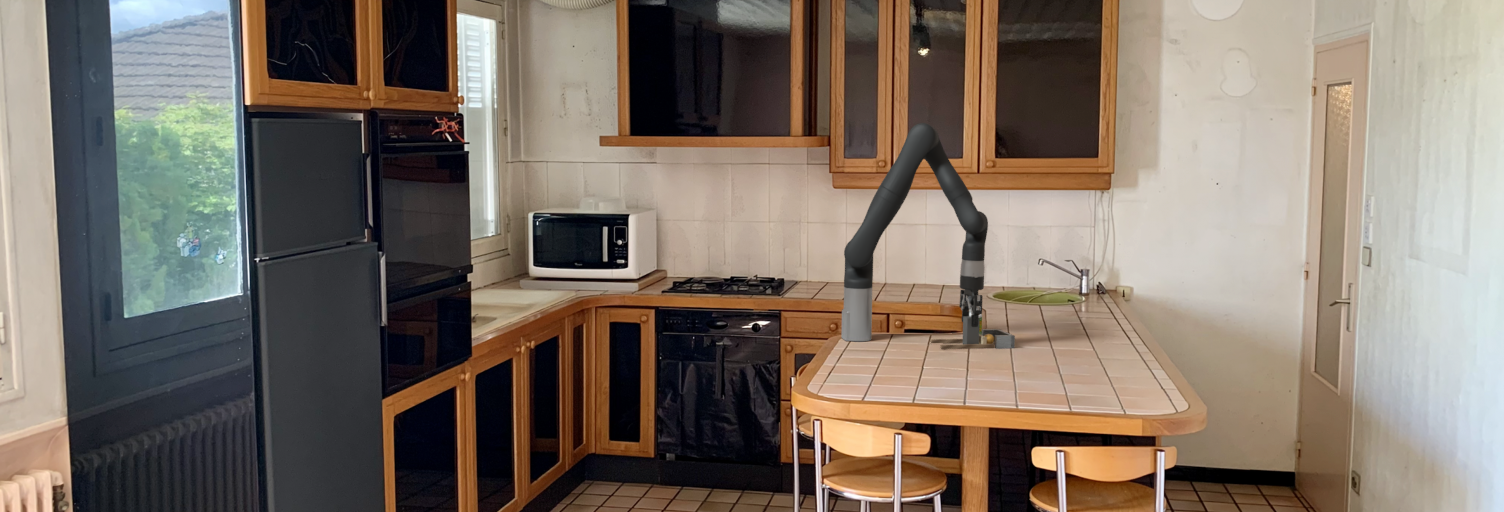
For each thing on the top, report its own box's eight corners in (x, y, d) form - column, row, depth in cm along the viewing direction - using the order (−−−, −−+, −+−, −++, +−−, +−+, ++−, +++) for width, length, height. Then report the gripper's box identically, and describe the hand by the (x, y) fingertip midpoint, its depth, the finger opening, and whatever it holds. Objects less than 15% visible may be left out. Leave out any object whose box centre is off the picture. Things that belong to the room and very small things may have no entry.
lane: (941, 349, 362) (941, 345, 362) (930, 343, 373) (930, 339, 373) (994, 348, 365) (994, 344, 365) (981, 342, 376) (981, 338, 376)
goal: (996, 348, 364) (996, 336, 364) (981, 341, 377) (981, 329, 377) (1014, 348, 365) (1014, 335, 365) (999, 341, 378) (999, 329, 378)
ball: (997, 336, 369) (993, 347, 369) (993, 334, 373) (989, 345, 373) (987, 333, 368) (983, 344, 369) (983, 331, 372) (979, 342, 372)
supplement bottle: (981, 337, 386) (982, 308, 385) (965, 336, 387) (965, 307, 386) (981, 334, 391) (982, 306, 390) (965, 334, 392) (966, 305, 391)
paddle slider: (968, 347, 366) (969, 319, 365) (960, 343, 373) (961, 315, 372) (986, 346, 367) (987, 318, 366) (978, 342, 374) (979, 315, 373)
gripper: (953, 271, 374) (951, 321, 375) (968, 276, 360) (966, 328, 361) (975, 271, 375) (973, 321, 377) (991, 277, 361) (989, 328, 363)
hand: (969, 324), depth 369 cm, fingers open, 8 cm apart
